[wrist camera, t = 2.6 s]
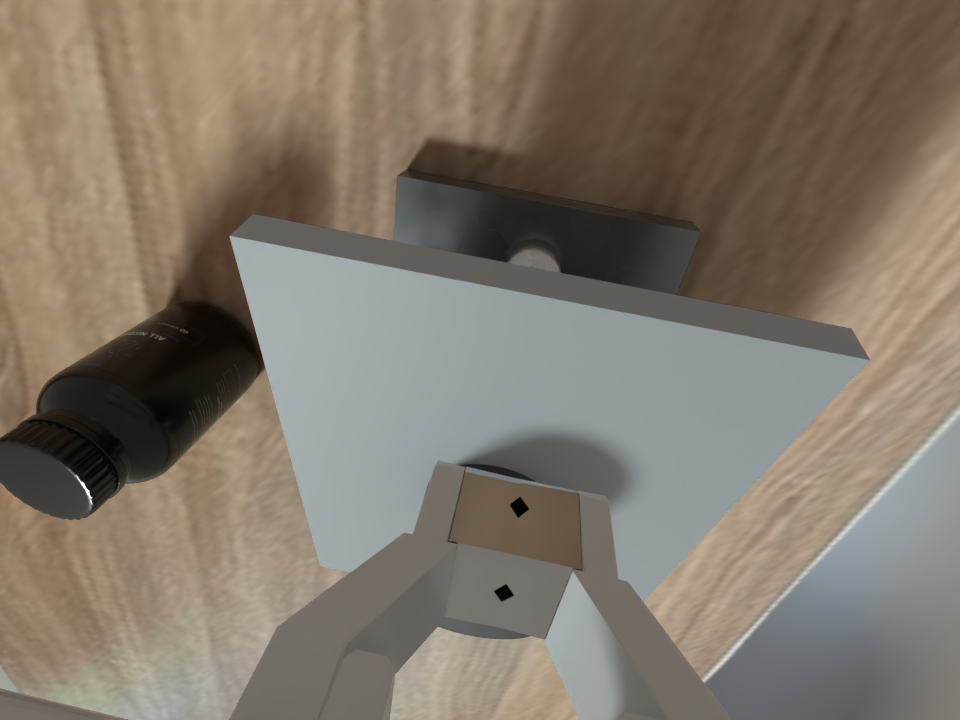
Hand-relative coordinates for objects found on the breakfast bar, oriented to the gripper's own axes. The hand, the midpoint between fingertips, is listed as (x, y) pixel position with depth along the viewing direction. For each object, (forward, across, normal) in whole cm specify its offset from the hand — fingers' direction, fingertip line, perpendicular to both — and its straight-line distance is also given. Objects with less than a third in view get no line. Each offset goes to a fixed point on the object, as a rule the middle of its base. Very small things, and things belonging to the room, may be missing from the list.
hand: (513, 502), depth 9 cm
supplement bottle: (+19, +19, +11) cm, 29 cm away
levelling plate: (+8, 0, +8) cm, 11 cm away
